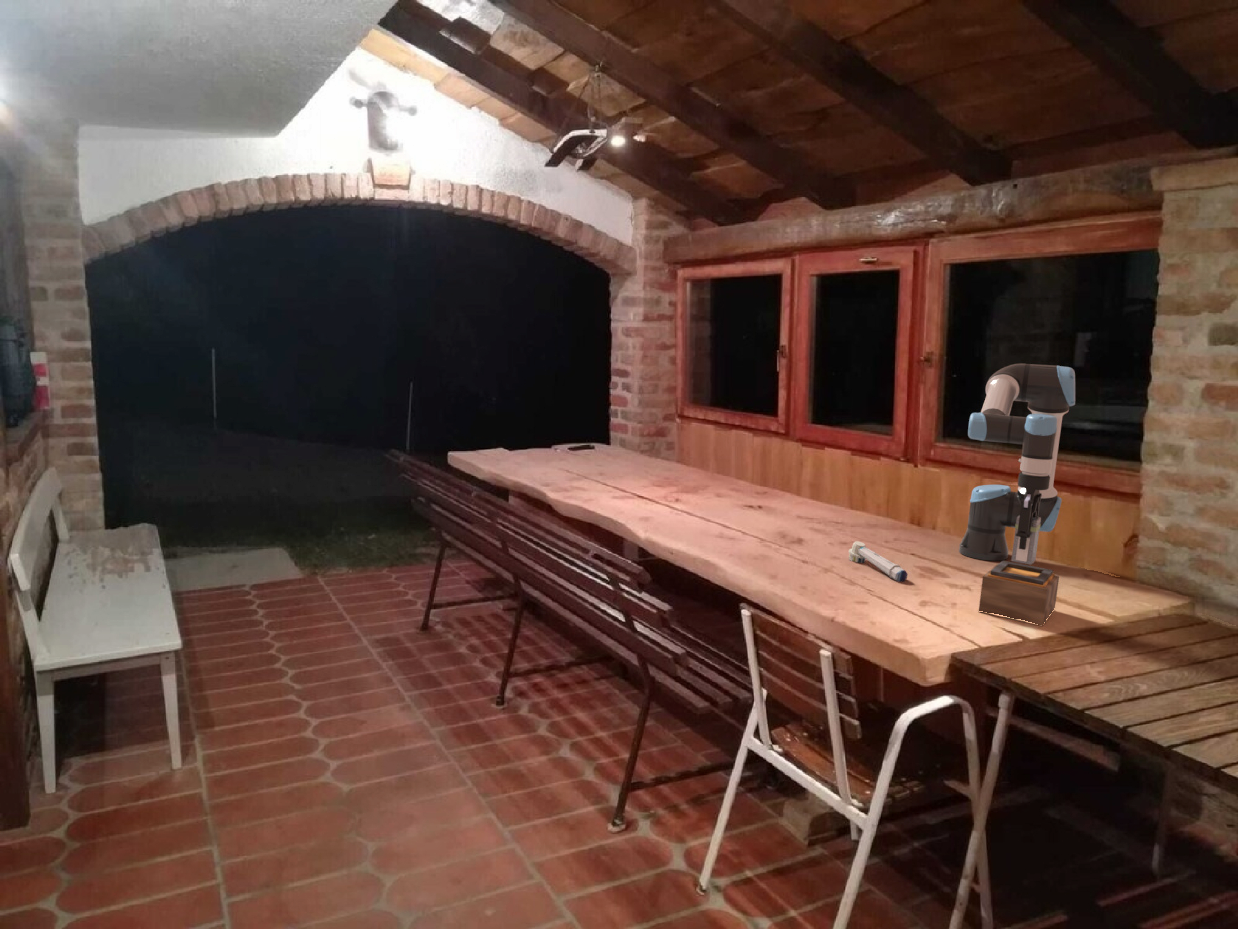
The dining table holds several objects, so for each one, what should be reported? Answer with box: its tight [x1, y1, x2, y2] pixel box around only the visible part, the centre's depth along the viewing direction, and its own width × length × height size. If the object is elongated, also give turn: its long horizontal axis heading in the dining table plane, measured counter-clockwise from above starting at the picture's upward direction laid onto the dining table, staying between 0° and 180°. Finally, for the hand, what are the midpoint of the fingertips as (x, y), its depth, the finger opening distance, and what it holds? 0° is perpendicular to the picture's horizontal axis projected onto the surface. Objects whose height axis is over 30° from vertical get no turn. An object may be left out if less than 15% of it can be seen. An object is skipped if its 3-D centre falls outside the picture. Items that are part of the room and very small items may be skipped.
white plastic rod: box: [848, 540, 908, 583], centre depth 280 cm, size 5×7×25 cm
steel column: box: [1010, 515, 1041, 566], centre depth 244 cm, size 5×5×12 cm
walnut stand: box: [978, 560, 1060, 627], centre depth 246 cm, size 16×16×12 cm
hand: (1023, 558), depth 245 cm, fingers closed on steel column, 5 cm apart
